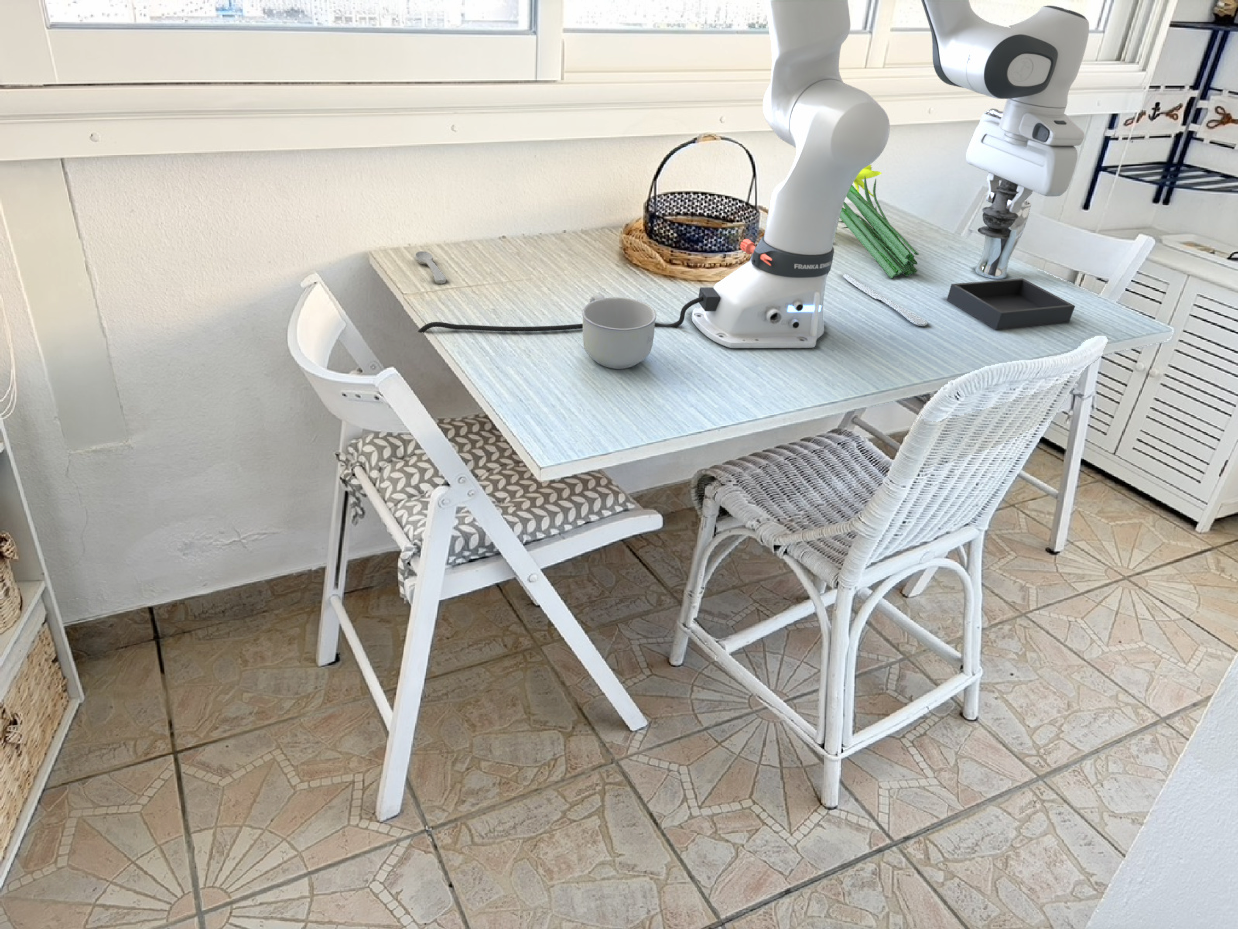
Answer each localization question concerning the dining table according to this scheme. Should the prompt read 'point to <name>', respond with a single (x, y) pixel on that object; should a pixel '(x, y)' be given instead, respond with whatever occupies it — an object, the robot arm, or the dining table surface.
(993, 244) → the beer glass
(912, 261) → the daffodil flowers
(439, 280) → the spoon
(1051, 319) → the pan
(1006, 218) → the salt shaker
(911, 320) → the butter knife
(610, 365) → the teacup
